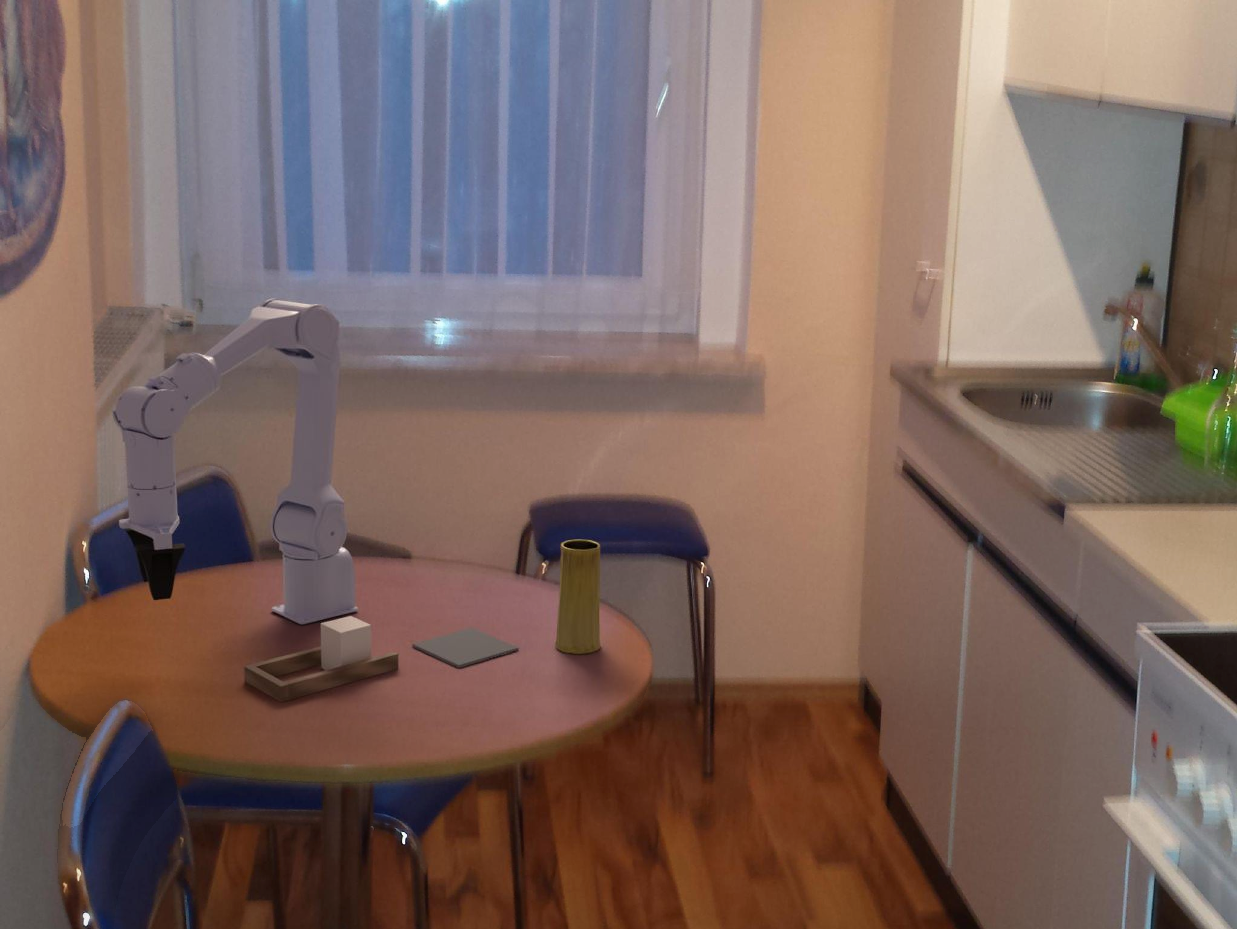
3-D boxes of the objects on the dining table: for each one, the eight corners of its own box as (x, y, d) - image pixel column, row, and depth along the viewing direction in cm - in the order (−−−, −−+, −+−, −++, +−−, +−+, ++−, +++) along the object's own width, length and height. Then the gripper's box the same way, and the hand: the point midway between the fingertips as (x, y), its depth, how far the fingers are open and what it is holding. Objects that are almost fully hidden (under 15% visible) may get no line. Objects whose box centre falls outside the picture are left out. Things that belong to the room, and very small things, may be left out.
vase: (610, 647, 191) (613, 545, 188) (577, 658, 187) (580, 554, 183) (577, 635, 195) (580, 535, 192) (545, 646, 191) (547, 544, 187)
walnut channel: (360, 650, 187) (360, 635, 187) (398, 668, 181) (398, 653, 181) (244, 681, 175) (244, 666, 175) (281, 702, 170) (280, 686, 169)
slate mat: (471, 630, 196) (471, 627, 196) (518, 650, 189) (518, 647, 189) (412, 646, 189) (412, 643, 189) (458, 668, 182) (459, 665, 182)
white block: (351, 660, 184) (350, 615, 183) (371, 669, 181) (370, 625, 179) (321, 668, 181) (320, 623, 179) (341, 678, 178) (340, 632, 176)
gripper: (109, 473, 180) (115, 576, 183) (126, 501, 167) (131, 611, 170) (167, 469, 183) (172, 570, 186) (187, 496, 170) (192, 604, 173)
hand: (156, 589), depth 178 cm, fingers open, 7 cm apart
